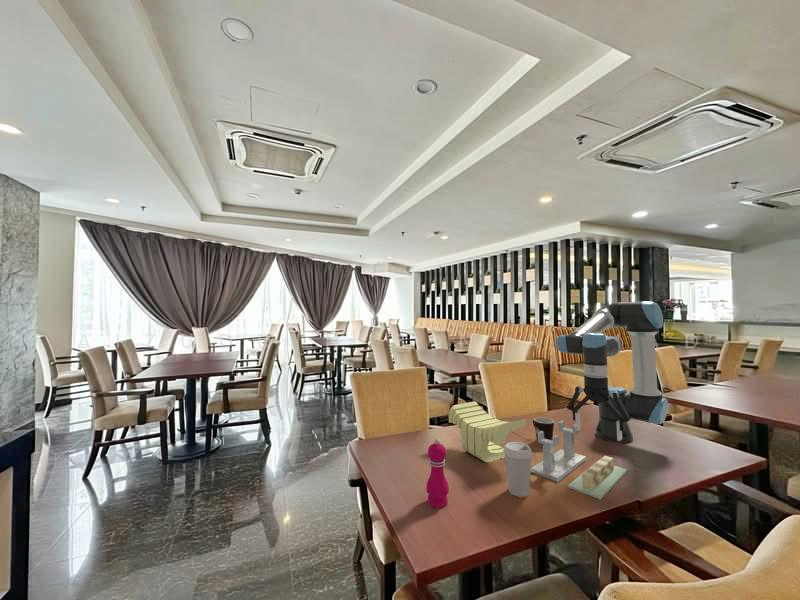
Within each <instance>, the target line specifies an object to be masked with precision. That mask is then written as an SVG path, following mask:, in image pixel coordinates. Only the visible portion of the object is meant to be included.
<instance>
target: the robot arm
mask: <svg viewBox="0 0 800 600" xmlns="http://www.w3.org/2000/svg"><path fill="white" fill-rule="evenodd" d="M663 326H664V316H663V312H662V309H661V307H660V305H659V304H658V303H657V302H655V301H645V300H644V301H643V300H642V301H627V302H626V301H624V302H623V301H621V302H618V301H617V302H613V303H610V304H607V305H604V306H602V307H601V308H599V309H597V310H596V311H594V313H593V314H592V315H591V317H589V319H588V320H586V321H585V322H584V323H583V324H581V325H580V326H579V327H577V328H575V329H574V330H573V331H572V332H570V333H569V334H560V335H558V336H557V338H556V341H555V342H556V343H555V344H556V348H557V351H558V352H560V353H563V354H575V355H582V356H583V359H582V360H583V374H584V377H583V381H584V382H583V383H584V386H583V387H582V386H580V385H578V386H575V387H574V388H575V389H574V393H573V396H572V397H571V399H570V400H569V403H568V405H567V407H566V409H568V410H570V411H571V412H572V420H573V421H575V424H576V430H577V431H578V432H579V431H580V430H581V428H582V424H581V423H582V421H581V412H580V411H579V410H580V409H581V408H582V407H583V406H584V405H585V404H586V403H587V402H588V401H591V402H593V403H594V402H597V403H598V421H597V424H596V427H595V435H596V436H597V437H598V436H599V437H598V438H600V437H601V439H603V440H607V441H609V440H610V442H614V441H615V442H616V443H630V442H632V441H633V439H634V438H633V432H632V429H631V428H630V425H629V423H628V422H630V420H634V421H640V422H644V423H648V424H655V425H661V424H663V423H664V422H665V420H666V417H667V415H668V409H669V402H668V398H666V397H663V393H662V392H661V391H660V390H659V389H658V379H657V378H658V376H657V361H656V342H655V336H656V335H657V334H658V333H659V329H661V328H663ZM615 327H616V328H617V327H619V328H626V332H627V334H629V335H630V340H631V341H630V342H631V357H632V358H631V359H632V378H633V387H632V388H631V389H629V392H628V390H627V388H625V387H618V386H617V387H616V386H615V387H614V386H612V387H611V386H610V387H609V378H608V376H609V374H608V373H609V372H608V370H609V369H608V358H609V357H613V356H616V355H617V354H619V353H620V351H621V349H622V344H621V341H620V340H619V339H618V338H617V337H615V336H613V335H612V336H610V335H606V334H604V331H605V330H609V329H611V328H615ZM582 393H584V394H585V396H584V397H583V398H582V400H580V401H579V403H577V401H578V399H579V397H580V395H581V394H582ZM576 403H577V404H576ZM575 404H576V406H575Z"/></svg>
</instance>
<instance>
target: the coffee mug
mask: <svg viewBox="0 0 800 600" xmlns="http://www.w3.org/2000/svg"><path fill="white" fill-rule="evenodd" d="M532 424H533V427H534V429H535V431H534V432H535V436H536V442H537V443H538V444H539V442H538V432H540V431H543V432H544V438H545V439H548V440H552V437H553V436H554V424H555V421H554V420H553V419H552V418H548V417H535V418H533V420H532ZM540 445H543V444H542V443H540Z"/></svg>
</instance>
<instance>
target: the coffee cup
mask: <svg viewBox="0 0 800 600" xmlns="http://www.w3.org/2000/svg"><path fill="white" fill-rule="evenodd" d="M503 448H504V450H503V452H504V454H505V459H504V460H505V469H506V474H507V475H506V477H507V485H508V488H507V489H508V492H509V493H510V494H511V495H513V496H515V497H519V498H520V497H521V498H526V497H528V496H529V495H530V485H531V468H532V458H533V456H534V453H533V450H532V449H531V446H530V445H527V444H526V443H522V442H519V441H512V442H507V443H505V446H504V447H503Z"/></svg>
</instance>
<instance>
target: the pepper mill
mask: <svg viewBox="0 0 800 600" xmlns="http://www.w3.org/2000/svg"><path fill="white" fill-rule="evenodd" d="M427 454H428V458H429V465H430V474H429V478H428V479H427V482H426V492H427V495H428V496H427V504H428V505H429V506H431V507H433V508H435V507H436V508H437V509H441V507H442V508H444V507H446V506H447V505H448V503H449V502H448V500H449V499H448V496H447V495H449V492H450V486H449V483H448V481H447V478H446V475H445V471H444V467H445V466H446V457H447V449H446V446H444V444H443V443H441V441H440V439H438V438H436V439H434V441H433V443H432V444H430V445H429V446H428V448H427Z"/></svg>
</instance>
